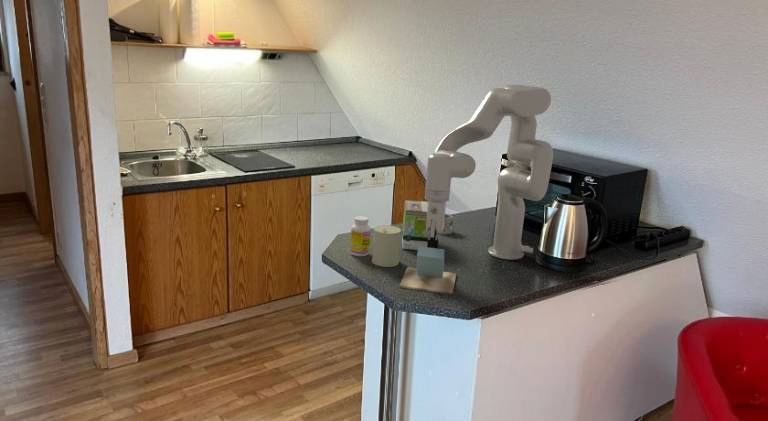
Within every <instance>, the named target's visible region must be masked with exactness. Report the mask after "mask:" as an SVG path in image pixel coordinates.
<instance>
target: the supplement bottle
mask: <svg viewBox="0 0 768 421" xmlns="http://www.w3.org/2000/svg"><path fill="white" fill-rule="evenodd" d="M350 229H351V230H350V246H349V251H350V252H349V253H350V254H351V255H353V256H355V257H366V256H368V255H369V253H370V245H371V233H372V232H371V231H372V230H371V229H372V228H371V226H370V225H369V217H367V216H363V215H362V216H361V215H359V216H355V217H354V224H352V226H351V228H350Z"/></svg>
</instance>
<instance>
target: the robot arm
mask: <svg viewBox="0 0 768 421" xmlns="http://www.w3.org/2000/svg"><path fill="white" fill-rule="evenodd" d="M551 96H552V95H551V93H550V91H549V90H548V89H546V88H544V87H541V86H540V87H539V86H533V85H532V86H531V85H522V84H508V85H505V87H495V88H493V89H491V90H489V91H488V93H486V95H485V97H484V98H483V99H482V101H481V102H480V104H479V106H478V107H477V108H476V110H475V111H474V113H473V115H472V116H471V118H469V120H467V122H465V123H464V124H462V125H460V126H458V127H457V128H455V129H453V130H452V131H451V132H449V133H448V134H447V135H446V136H444V137H443V138H442V140H441V141H440V142H439V145H438V146H436V149H435V151H434V152H433V153H431V154H430V155H429V156H428V157H427V165H426V178H425V187H424V188H425V189H424V199H425V200H426V201H427V202H428V207H427V221H426V231H427V232H428V231H429V236H428V242H427V247H428V248H437V249H439V235H442V234H441V233H442V231H443V228H444V220H445V214H446V206H447V202H449V201H450V192H451V182H452V178H457V179H458V178H459V179H465V178H469V177H470V176H471V175H473V173H474V172H475V170H476V163H477V162H476V161H475V159H474V157H473V156H471V155H469V154H468V153H464V152H459V151H458V150H460V149H461V148H462V147H464V146H466V145H469V144H473V143H476V142H479V141H484V140H487V139H489V138H491V137H492V136H493V134H494V133H495V131H496V129H497V128H498V127H499V125H500V124H501V122H502V120H503V119H504V117H510V121H511V122H510V123H511V125H510V131H509V132H510V133H509V138H508V144H507V150H506V158H507V159H508V162H511V163H512V164H516V165H519V166H524V167H529V168H530V170H527V169H523V168H519V167H513V166H511V167H505V168H503V169H502V170H500V172H499V174H498V176H497V177H498V178H497V192H498V194H497V196H498V198H497V210H496V217H495V219H496V220H495V226H494V234H493V243H492V246H490V247H488V250H487V252H488V254H489V255H491V256H492V257H495V258H497V259H502V260H510V261H511V260H512V261H513V260H521V259H522V258H523V257H524V253H527V254H533V253H534V247H530V245H523V244H522V236H523V235H522V233H523V227H524V220H525V213H526V212H525V211H526V206H525V201H524V199H526V200H529V201H535V202H536V201H541V200H542V199H543V198H544V197H545V195H546V193H547V191H548V188H549V182H550V176H551V171H552V166H553V163H554V162H553V161H554V150H553V147H552V145H551V144H550V143H549V142H548V141H545V140H540V139H536V133H537V127H538V126H537V124H538V122H537V119H536V116H539V115H541V114H544V113H546V112H547V110H548V109H549V107H550V105H551V104H552V97H551ZM438 233H440V234H438Z"/></svg>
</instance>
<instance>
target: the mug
mask: <svg viewBox="0 0 768 421" xmlns="http://www.w3.org/2000/svg"><path fill="white" fill-rule="evenodd" d="M453 218H454V216H453V215H451V214H447V213H445V220H444V228H443V231H442V233H441V234H440V233H438V235H446V236H448V235H450V234H452V229H453Z"/></svg>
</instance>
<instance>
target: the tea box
mask: <svg viewBox="0 0 768 421" xmlns="http://www.w3.org/2000/svg"><path fill="white" fill-rule="evenodd" d="M403 207H404V208H403V216H402V218H403V220H402V229H401V248H402V249H403V250H414V251H418V248H419V246H420V247H427V242H428V236H429V231H428V232H427V231H426V221H427V207H428V201H421V200H420V201H419V200H406V199H405V200H404V206H403Z"/></svg>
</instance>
